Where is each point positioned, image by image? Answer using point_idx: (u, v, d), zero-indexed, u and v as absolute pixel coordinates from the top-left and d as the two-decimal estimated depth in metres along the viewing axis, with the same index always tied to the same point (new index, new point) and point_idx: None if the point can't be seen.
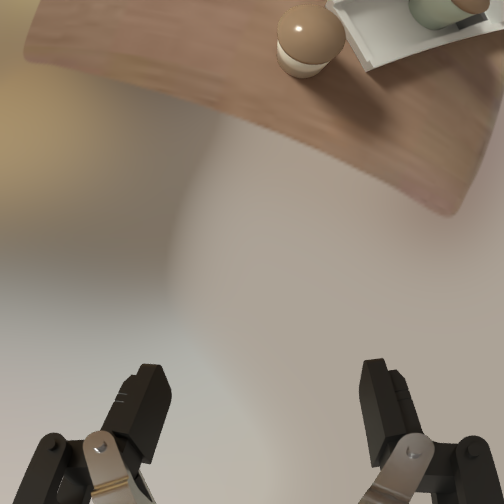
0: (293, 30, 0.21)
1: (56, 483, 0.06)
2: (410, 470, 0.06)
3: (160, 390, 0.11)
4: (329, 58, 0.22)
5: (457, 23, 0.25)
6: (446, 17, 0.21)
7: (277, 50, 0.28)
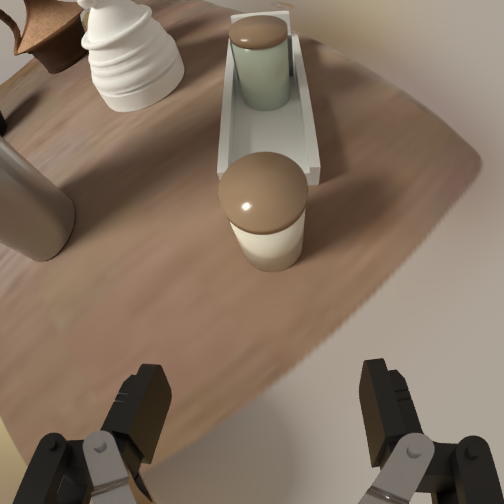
0: (249, 206, 0.20)
1: (56, 483, 0.06)
2: (410, 470, 0.06)
3: (161, 390, 0.11)
4: (305, 183, 0.20)
5: None
6: (282, 68, 0.28)
7: (256, 257, 0.25)
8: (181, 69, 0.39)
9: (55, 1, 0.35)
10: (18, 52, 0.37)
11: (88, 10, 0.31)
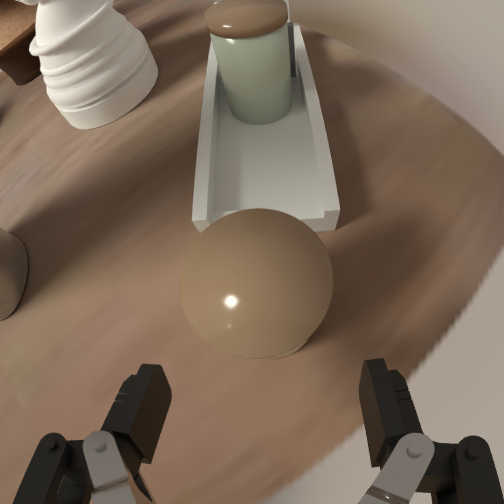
0: (231, 315, 0.11)
1: (56, 483, 0.06)
2: (410, 470, 0.06)
3: (161, 390, 0.11)
4: (329, 271, 0.11)
5: None
6: (281, 65, 0.20)
7: None
8: (153, 72, 0.30)
9: (19, 3, 0.27)
10: None
11: None
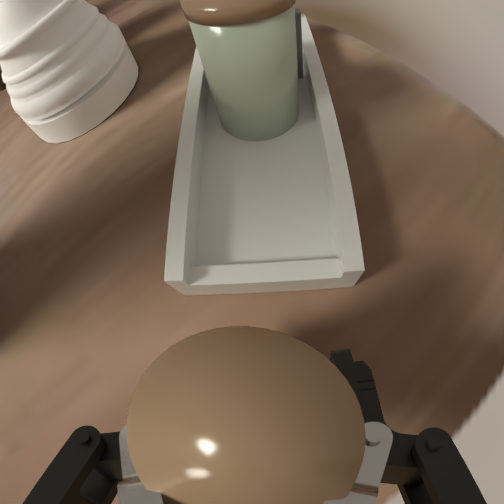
0: (205, 491, 0.06)
1: (82, 477, 0.07)
2: (372, 458, 0.07)
3: None
4: (360, 436, 0.06)
5: None
6: (286, 64, 0.15)
7: None
8: (132, 73, 0.25)
9: None
10: None
11: None
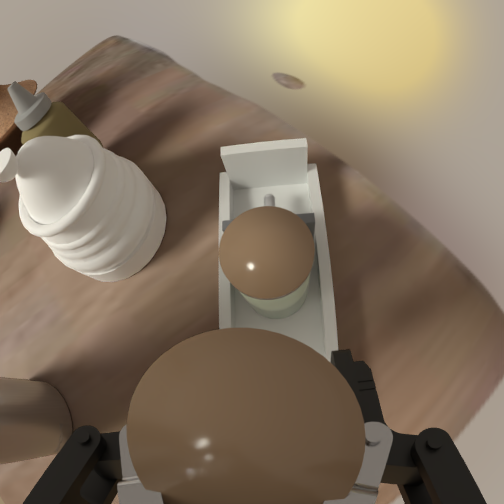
0: (205, 492, 0.06)
1: (82, 477, 0.07)
2: (372, 458, 0.07)
3: None
4: (360, 437, 0.06)
5: None
6: (301, 293, 0.22)
7: None
8: (162, 219, 0.32)
9: None
10: None
11: (22, 129, 0.25)
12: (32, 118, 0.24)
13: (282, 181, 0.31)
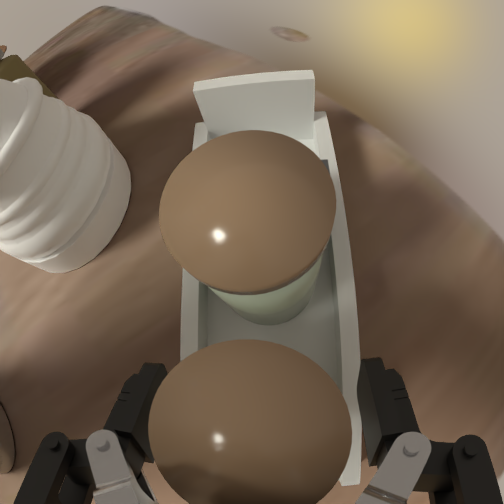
0: (216, 479, 0.07)
1: (58, 482, 0.06)
2: (407, 469, 0.06)
3: None
4: (347, 432, 0.07)
5: None
6: (308, 287, 0.13)
7: None
8: (123, 189, 0.23)
9: None
10: None
11: None
12: None
13: None
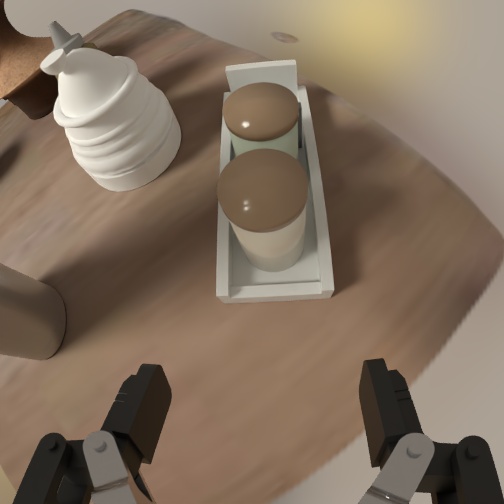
0: (248, 203, 0.19)
1: (56, 483, 0.06)
2: (410, 470, 0.06)
3: (161, 390, 0.11)
4: (305, 179, 0.19)
5: None
6: None
7: (257, 257, 0.25)
8: (178, 134, 0.35)
9: (28, 39, 0.33)
10: None
11: None
12: (68, 50, 0.27)
13: None
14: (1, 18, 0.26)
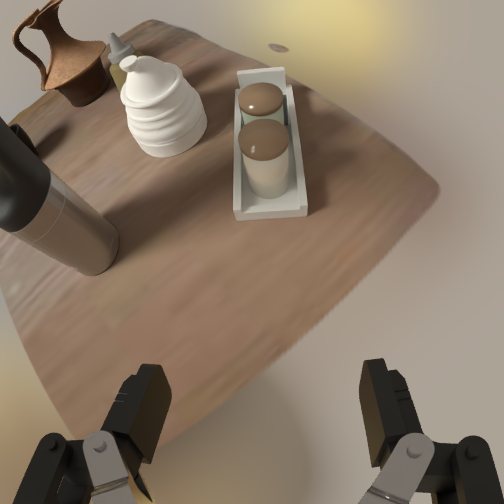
0: (256, 145, 0.34)
1: (56, 483, 0.06)
2: (410, 470, 0.06)
3: (161, 390, 0.11)
4: (287, 133, 0.34)
5: None
6: None
7: (260, 184, 0.40)
8: (205, 118, 0.50)
9: (77, 42, 0.48)
10: (45, 88, 0.50)
11: (115, 62, 0.42)
12: (124, 55, 0.42)
13: None
14: (56, 23, 0.41)
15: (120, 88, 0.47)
